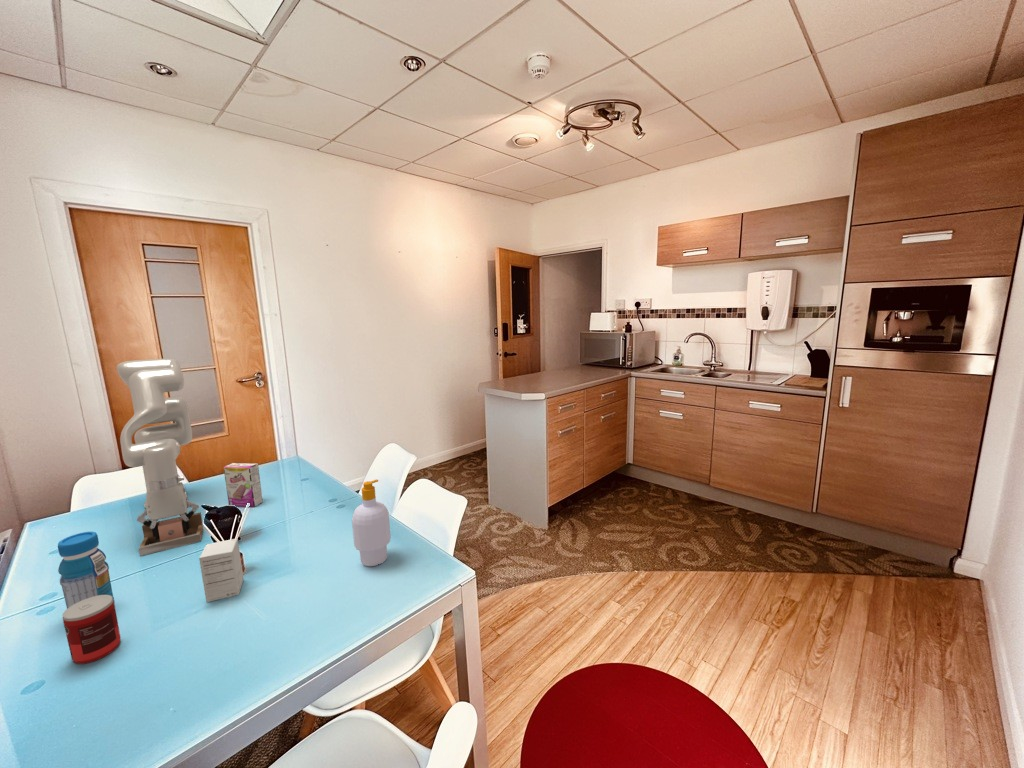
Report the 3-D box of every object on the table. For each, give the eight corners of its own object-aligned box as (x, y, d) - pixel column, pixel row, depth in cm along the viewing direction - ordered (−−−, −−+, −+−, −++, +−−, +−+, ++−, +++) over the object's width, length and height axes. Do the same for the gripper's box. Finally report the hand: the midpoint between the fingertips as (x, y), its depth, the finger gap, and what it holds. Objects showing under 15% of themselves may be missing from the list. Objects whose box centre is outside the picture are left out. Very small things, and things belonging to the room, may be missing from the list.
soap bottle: (398, 558, 123) (393, 482, 119) (366, 574, 116) (359, 493, 112) (381, 546, 130) (375, 473, 126) (349, 560, 123) (342, 483, 119)
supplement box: (212, 586, 112) (206, 543, 110) (244, 579, 115) (238, 537, 113) (205, 603, 106) (198, 557, 104) (239, 595, 109) (232, 550, 107)
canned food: (93, 639, 95) (84, 595, 93) (131, 636, 95) (122, 592, 93) (60, 666, 87) (50, 620, 85) (101, 663, 88) (91, 616, 86)
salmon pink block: (163, 541, 137) (159, 521, 136) (186, 536, 140) (182, 516, 139) (160, 548, 133) (157, 527, 132) (184, 542, 136) (181, 522, 135)
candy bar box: (228, 507, 161) (222, 467, 159) (237, 501, 166) (232, 462, 163) (254, 507, 160) (249, 467, 157) (263, 502, 165) (258, 462, 162)
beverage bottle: (73, 629, 98) (56, 551, 95) (63, 616, 102) (47, 541, 99) (120, 607, 105) (106, 534, 102) (109, 596, 109) (95, 526, 106)
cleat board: (146, 543, 136) (143, 524, 135) (203, 529, 144) (200, 512, 143) (139, 556, 128) (136, 536, 127) (200, 541, 136) (197, 523, 135)
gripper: (198, 473, 141) (206, 522, 143) (131, 485, 132) (140, 537, 134) (196, 480, 134) (203, 531, 137) (124, 493, 125) (134, 548, 128)
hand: (172, 534), depth 136 cm, fingers open, 6 cm apart
